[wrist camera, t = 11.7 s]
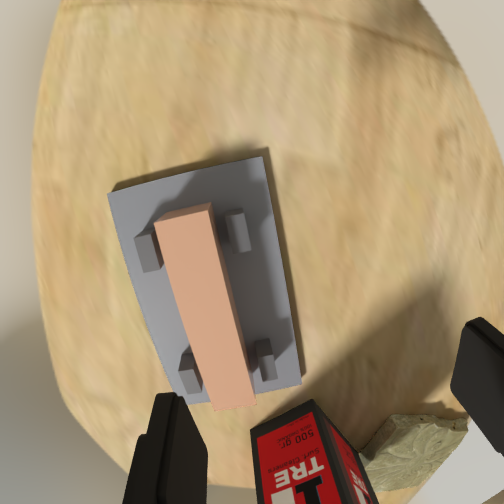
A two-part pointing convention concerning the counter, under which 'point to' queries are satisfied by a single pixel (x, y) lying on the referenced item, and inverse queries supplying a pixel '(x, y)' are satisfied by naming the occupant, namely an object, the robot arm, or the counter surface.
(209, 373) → the clay strip
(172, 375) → the grey plate with pegs
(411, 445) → the decorative tile
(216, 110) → the counter surface
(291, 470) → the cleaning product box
